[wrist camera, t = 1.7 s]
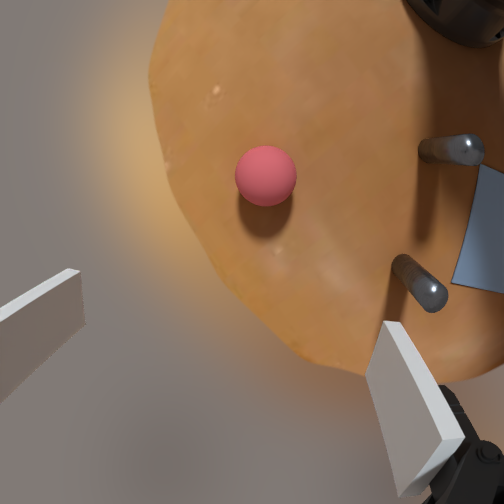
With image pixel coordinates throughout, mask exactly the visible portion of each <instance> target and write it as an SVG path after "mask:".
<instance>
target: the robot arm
mask: <svg viewBox="0 0 504 504" xmlns="http://www.w3.org/2000/svg"><path fill="white" fill-rule="evenodd" d="M407 1H408V3H409V4H410V6H411V7H412V8H413V9H414V11H415V12H416V13H417V14H418V15H419V16H420V17H421V18H422V19H423V20H424V21H425V22H426V23H427V24H428V25H430V26H431V27H432V28H433V29H435V30H436V31H437V32H439V33H440V34H442V35H443V36H445V37H446V38H448V39H450V40H452V41H454V42H456V43H459V44H461V45H464V46H468V47H473V48H484V47H488V46H490V45H492V44H494V43H496V42H498V41H500V40H501V39H502V38H503V37H504V0H407ZM84 325H86V323H85V315H84V305H83V295H82V282H81V271H77V270H73V269H69V268H68V269H66V270H64V271H62V272H61V273H59V274H57V275H55V276H54V277H52V278H50V279H49V280H47V281H45V282H43V283H42V284H40V285H38V286H36V287H35V288H33V289H31V290H30V291H28V292H26V293H24V294H23V295H21V296H20V297H18V298H16V299H14V300H13V301H11V302H9V303H8V304H6V305H5V306H3V307H1V308H0V404H1V403H2V402H3V401H4V400H5V399H6V398H7V397H8V396H9V395H10V394H11V393H12V392H13V391H14V390H15V389H16V388H17V387H18V386H19V385H20V384H21V383H22V382H24V381H25V379H27V378H28V377H29V376H30V375H31V374H32V373H33V372H34V371H35V370H36V369H37V368H38V367H39V366H40V365H42V364H43V363H44V362H45V361H46V360H47V359H48V358H49V357H50V356H51V355H52V354H53V353H55V352H56V350H58V349H59V348H60V347H61V346H62V345H63V344H64V343H66V342H67V341H68V340H69V339H70V338H71V337H72V336H73V335H74V334H76V333H77V332H78V331H79V330H80V329H81V328H82V327H83V326H84ZM365 376H366V379H367V382H368V386H369V389H370V392H371V396H372V399H373V403H374V406H375V410H376V413H377V416H378V420H379V424H380V427H381V431H382V434H383V438H384V442H385V445H386V449H387V453H388V457H389V461H390V465H391V468H392V472H393V477H394V481H395V485H396V489H397V494H398V497H399V498H400V497H409V496H416V495H420V494H421V493H422V492H423V491H424V490H425V488H426V487H427V486H428V485H430V488H431V491H432V494H431V495H430V496H429V497H428V498H427V499H426V500H425V501H424V502H423V503H422V504H504V455H503V454H502V451H501V450H500V449H499V448H498V447H497V446H496V445H495V444H493V443H491V442H489V441H485V440H483V441H482V440H481V441H480V439H479V437H478V435H477V433H476V431H475V430H474V428H473V426H472V424H471V422H470V420H469V419H468V417H467V415H466V414H464V410H463V408H462V407H461V406H460V403H459V401H458V399H457V398H456V396H455V394H454V393H453V392H452V391H451V390H449V389H448V388H447V387H446V386H445V385H437V383H436V381H435V380H434V378H433V376H432V374H431V373H430V371H429V369H428V368H427V366H426V364H425V362H424V361H423V359H422V357H421V356H420V354H419V352H418V351H417V349H416V347H415V346H414V344H413V342H412V341H411V339H410V338H409V336H408V334H407V333H406V331H405V330H404V328H403V326H402V325H401V323H400V322H393V321H383V324H382V327H381V330H380V333H379V336H378V339H377V342H376V345H375V348H374V351H373V354H372V357H371V360H370V362H369V365H368V368H367V371H366V373H365Z"/></svg>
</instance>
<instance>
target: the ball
mask: <svg viewBox="0 0 504 504" xmlns="http://www.w3.org/2000/svg"><path fill="white" fill-rule="evenodd" d="M296 178H297V175H296V168H295V165H294V163H293V161H292V159H291V158H290V157H289V156H288V155H287V154H286V153H285V152H284V151H282V150H281V149H279V148H276V147H273V146H259V147H255V148H253V149H251V150H249V151H248V152H246V153H245V154H244V155H243V156H242V157H241V159H240V160H239V162H238V164H237V167H236V171H235V180H236V185H237V187H238V190H239V191H240V193H241V194H242V196H243V197H244V198H245V199H247V200H248V201H249V202H251V203H253V204H256V205H259V206H273V205H276V204H279V203H281V202H282V201H284V200H285V199H286V198H287V197H288V196H289V195H290V194H291V193H292V191H293V189H294V187H295V184H296Z"/></svg>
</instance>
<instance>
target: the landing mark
mask: <svg viewBox="0 0 504 504" xmlns="http://www.w3.org/2000/svg"><path fill="white" fill-rule="evenodd" d="M451 282H452V283H456V284H461V285H466V286H470V287H475V288H480V289H485V290H489V291H494V292H499V293H503V294H504V174H503V173H501V172H498V171H496V170H494V169H492V168H489V167H487V166H485V165H482V164H480V167H479V173H478V179H477V184H476V190H475V195H474V199H473V204H472V209H471V213H470V217H469V221H468V225H467V229H466V233H465V237H464V241H463V244H462V248H461V251H460V255H459V258H458V261H457V265H456V268H455V271H454V274H453V277H452V280H451Z"/></svg>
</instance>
